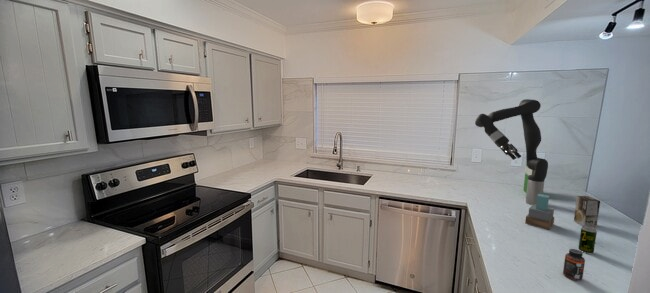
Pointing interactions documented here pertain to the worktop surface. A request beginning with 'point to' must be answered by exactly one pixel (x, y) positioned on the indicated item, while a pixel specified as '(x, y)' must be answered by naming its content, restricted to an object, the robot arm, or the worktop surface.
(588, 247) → the beer can
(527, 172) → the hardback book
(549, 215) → the tower top
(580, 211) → the coffee box
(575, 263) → the supplement bottle
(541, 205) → the teal block
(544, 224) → the tower bottom
